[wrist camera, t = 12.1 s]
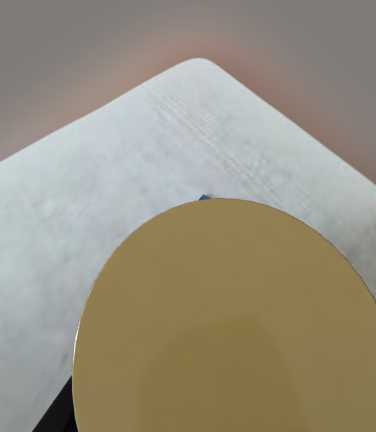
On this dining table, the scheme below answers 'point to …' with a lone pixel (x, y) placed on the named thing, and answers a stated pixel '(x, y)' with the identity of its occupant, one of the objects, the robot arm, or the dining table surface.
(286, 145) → the dining table surface
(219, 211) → the jam jar
